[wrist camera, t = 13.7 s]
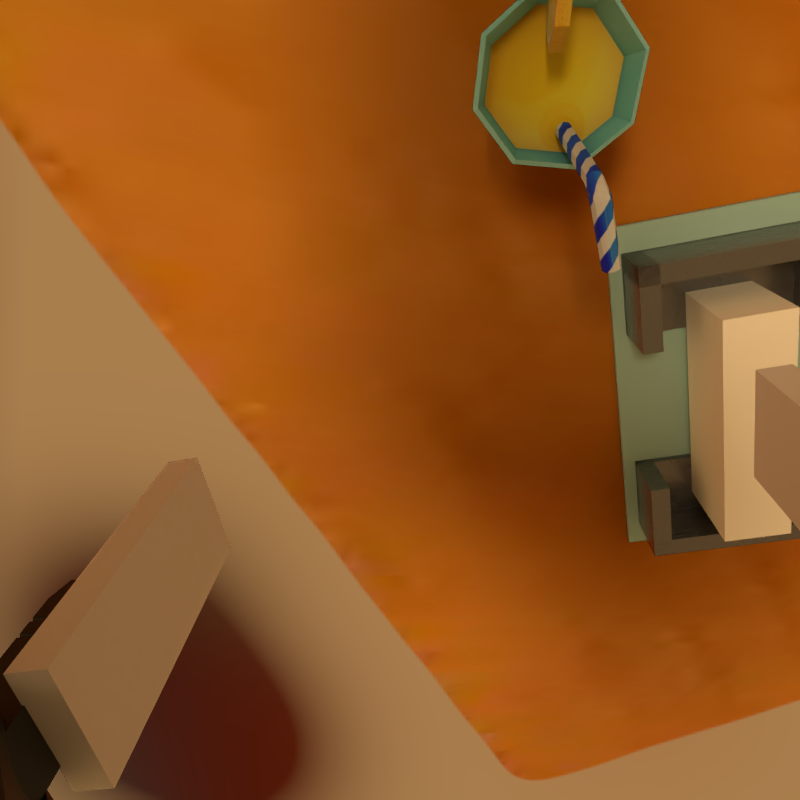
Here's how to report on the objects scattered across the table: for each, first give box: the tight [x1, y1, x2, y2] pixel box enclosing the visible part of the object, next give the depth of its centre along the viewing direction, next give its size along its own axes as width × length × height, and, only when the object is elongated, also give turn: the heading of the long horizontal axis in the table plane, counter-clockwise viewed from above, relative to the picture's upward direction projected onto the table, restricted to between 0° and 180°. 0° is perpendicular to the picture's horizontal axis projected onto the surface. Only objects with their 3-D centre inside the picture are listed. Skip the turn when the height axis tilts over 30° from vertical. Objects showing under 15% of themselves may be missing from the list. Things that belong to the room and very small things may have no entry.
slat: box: [685, 281, 800, 542], centre depth 41 cm, size 15×4×6 cm, turn 12°
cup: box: [473, 0, 650, 273], centre depth 31 cm, size 14×8×15 cm, turn 18°
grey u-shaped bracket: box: [621, 221, 800, 355], centre depth 39 cm, size 5×11×4 cm, turn 102°
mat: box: [608, 191, 800, 542], centre depth 44 cm, size 24×13×1 cm, turn 12°
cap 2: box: [635, 453, 800, 556], centre depth 45 cm, size 5×11×4 cm, turn 102°
